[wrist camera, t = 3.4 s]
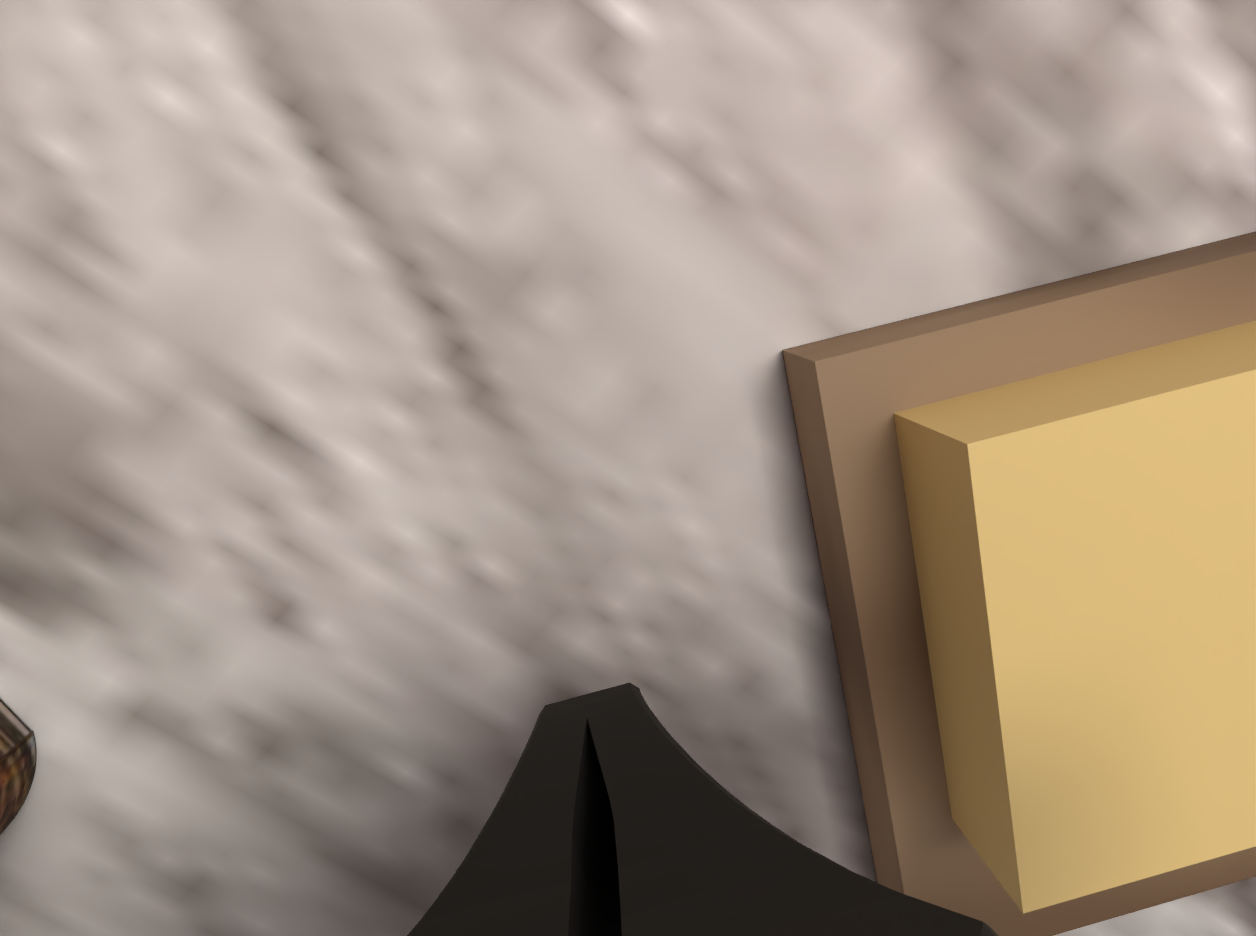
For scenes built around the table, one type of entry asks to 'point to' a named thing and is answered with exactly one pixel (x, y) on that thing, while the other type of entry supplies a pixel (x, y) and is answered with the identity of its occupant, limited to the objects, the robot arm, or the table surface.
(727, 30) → the table surface
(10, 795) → the book
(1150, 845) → the tile
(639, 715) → the robot arm
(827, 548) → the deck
